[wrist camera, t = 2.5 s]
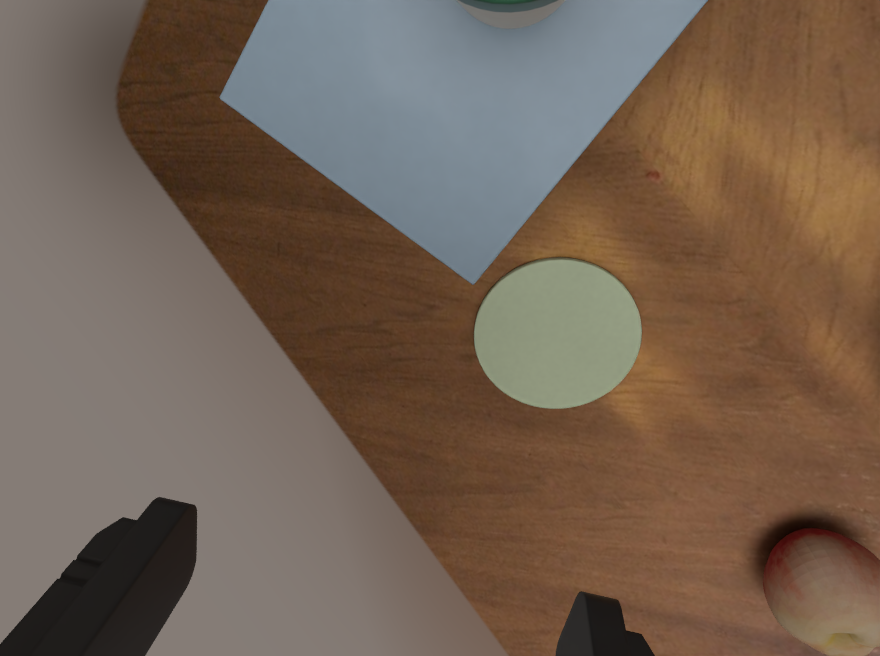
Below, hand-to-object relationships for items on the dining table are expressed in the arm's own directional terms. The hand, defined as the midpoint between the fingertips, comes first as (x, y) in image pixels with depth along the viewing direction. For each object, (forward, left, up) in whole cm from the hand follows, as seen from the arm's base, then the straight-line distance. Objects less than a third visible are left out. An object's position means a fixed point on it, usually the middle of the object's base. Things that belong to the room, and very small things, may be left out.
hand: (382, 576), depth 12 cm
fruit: (+35, -4, -28) cm, 45 cm away
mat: (+9, -2, -28) cm, 29 cm away
